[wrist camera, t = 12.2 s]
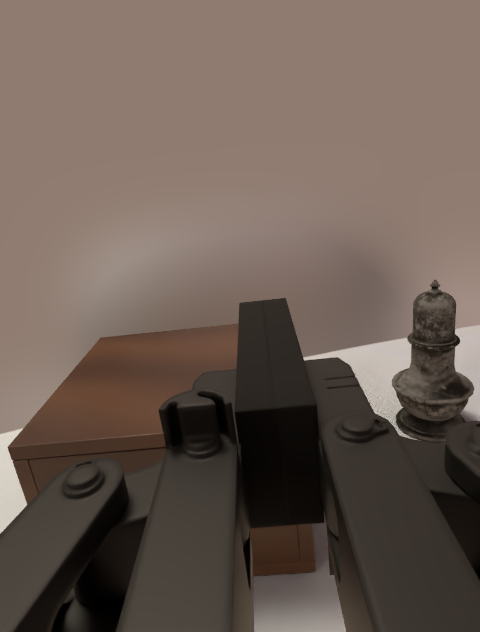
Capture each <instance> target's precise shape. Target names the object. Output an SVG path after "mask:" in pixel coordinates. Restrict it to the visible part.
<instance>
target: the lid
mask: <svg viewBox="0 0 480 632" xmlns="http://www.w3.org/2000/svg"><path fill="white" fill-rule="evenodd" d="M238 326H239V324H232V325H222V326H212V327H202V328H192V329H182V330H173V331H163V332H153V333H143V334H133V335H123V336H114V337H104V338H100V339H99V341H98V342H97V343H96V344H95V345H94V346H93V347H92V349H91V350H90V351H89V352H88V354H86V356H85V357H84V358H83V359H82V360H81V362H80V363H79V364H78V365H77V366H76V367H75V369H74V370H73V371H72V372H71V373H70V374H69V376H68V377H67V378H66V379H65V380H64V382H63V383H62V384H61V385H60V386H59V387H58V389H57V390H56V391H55V392H54V393H53V395H52V396H51V397H50V398H49V399H48V400H47V402H46V403H45V404H44V405H43V406H42V407H41V409H40V410H39V411H38V412H37V413H36V415H35V416H34V417H33V418H32V419H31V421H30V422H29V423H28V424H27V425H26V426H25V427H24V429H23V430H22V431H21V432H20V433H19V435H18V436H17V437H16V438H15V439H14V440H13V442H12V443H11V444H10V445H9V446H8V450H9V453H10V456H11V459H12V460H22V459H33V458H45V457H56V456H68V455H79V454H90V453H102V452H113V451H124V450H136V449H147V448H159V447H166V444H165V440H164V435H163V430H162V425H161V420H160V415H159V408H160V407H161V406H162V404H163V403H164V402H165V401H166V400H168V399H169V398H171V397H172V396H174V395H176V394H179V393H181V392H184V391H187V390H192V386H193V382H194V381H195V380H196V379H197V378H198V377H199V376H200V375H201V374H202V373H203V372H210V371H220V370H230V369H237V347H238Z"/></svg>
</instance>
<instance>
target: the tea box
mask: <svg viewBox="0 0 480 632" xmlns="http://www.w3.org/2000/svg"><path fill="white" fill-rule="evenodd" d="M165 452H166V447H159V448H147V449H136V450H124V451H113V452H102V453H90V454H79V455H68V456H56V457H45V458H33V459H22V460H14V461H13V464H14V467H15V470H16V473H17V476H18V478H19V481H20V484H21V487H22V490H23V493H24V496H25V499H26V502H27V505H28V504H29V503H30V502H31V501H32V500H33V499H34V497H35V496H36V495H37V494H38V493H39V492H40V491H41V490H42V489H43V488H44V487H45V486H46V485H47V483H48V482H49V481H50V480H51V479H52V478H53V477H55V476H56V475H57V474H58V473H59V472H61V471H62V470H63V469H65V468H67V467H69V466H71V465H73V464H75V463H77V462H79V461H82V460H86V459H90V458H102V457H105V458H109V459H113V460H116V461H117V462H118V463H119V464H120V465H121V466H122V469H123V473H124V474H125V473H128V472H131V471H134V470H138V469H141V468H144V467H147V466H149V465H152V464H155V463H156V462H158V461H160V460H162V459H164V455H165ZM249 521H250V520H249ZM250 537H251V544H252V554H253V576H262V575H276V574H290V573H304V572H315V571H316V567H315V552H314V539H313V525H312V524H300V525H288V526H275V527H263V528H250Z"/></svg>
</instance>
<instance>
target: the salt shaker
mask: <svg viewBox="0 0 480 632" xmlns="http://www.w3.org/2000/svg"><path fill="white" fill-rule="evenodd" d="M430 286H431V287H432V289H431V290H429V291H428V292H424V293H422V294H420V295H418V296H417V298H416V299H415V300H414V304H413V333H411V334H410V335H409V336H408V337H407V338H408V341H409V343H411V344H412V352H411V364H410V368H408V369H405V370H403V371H400V372H399V373H397V374H396V375H395V376H394V378H393V379H392V386H393V387H394V389H395V391H396V394H397V397H398V399H399V401H400V403H401V405H402V407H404V408H403V409H401V410H400V411H399V412H398V413H397V415H396V423H397V425H398V427H399V428H400V429H401V430H402V431H403V432H404V433H406V434H408V435H409V436H412V437H414V438H417V439H420V440H424V441H429V442H445V435H446V434H447V432H448V431H449V429H450V428H451V427H453V426H456V425H458V424H460V423H465V422H466V421H465V420H464V419H463V417H462V416H461V415H459V414H460V413H461V411H462V410H463V409H464V407H465V406H466V404H467V402H468V398H469V397H470V396H471V395H472V394H473V391H474V387H473V384H472V382H471V381H470V380H469V379H468V378H467V377H465V376H463V375H462V374H460V373H458V372H456V371H455V366H454V357H455V346H457V345H458V344H459V343H460V339H459V337H458V336H456V335H455V316H456V315H455V314H456V302H455V300H454V298H453V297H452V296H451V295H449V294H447V293H445V292H442V291H441V290H438V287H439V286H440V285H439V284H438V282H437V280H434V281H433V282H432V284H431V285H430Z"/></svg>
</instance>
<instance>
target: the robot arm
mask: <svg viewBox="0 0 480 632" xmlns="http://www.w3.org/2000/svg"><path fill="white" fill-rule="evenodd" d="M159 415H160V420H161V425H162V430H163V435H164V440H165V444H166V452H165V455H164V459H162V460H160V461H158V462H156V463H155V464H152V465H149V466H147V467H144V468H141V469H138V470H134V471H131V472H128V473H125V474H124V473H123V469H122V466H121V465H120V464H119V463H118V462H117V461H116V460H113V459H109V458H105V457H102V458H90V459H86V460H82V461H79V462H77V463H75V464H73V465H71V466H69V467H67V468H65V469H63V470H62V471H61V472H59V473H58V474H57V475H56V476H55V477H53V478H52V479H51V480H50V481H49V482H48V483H47V485H46V486H45V487H44V488H43V489H42V490H41V491H40V492H39V493H38V494H37V495H36V496H35V497H34V499H33V500H32V501H31V502H30V503H29V504H28V505H27V506H26V507H25V508H24V509H23V510H22V511H21V513H20V514H19V515H18V516H17V517H16V518H15V519H14V520H13V521H12V522H11V523H10V524H9V525H8V526H7V528H6V529H5V530H4V531H3V532H2V533H1V534H0V632H254V605H253V554H252V544H251V537H250V528H263V527H275V526H288V525H300V524H312V523H325V521H324V513H325V518H326V522H327V536H328V552H329V567H330V575H335V580H336V585H337V589H338V594H339V599H340V604H341V608H342V613H343V618H344V623H345V627H346V632H480V421H474V422H465V423H460V424H458V425H456V426H453V427H451V428H450V429H449V431H448V432H447V434H446V435H445V444H444V443H436V442H427V441H419V440H413V439H408V438H405V437H402V436H399V435H398V433H397V431H396V429H395V428H394V426H393V425H392V424H391V423H390V422H389V421H388V420H387V419H385V418H383V417H381V416H379V415H377V414H375V413H374V411H373V409H372V408H371V406H370V404H369V402H368V400H367V398H366V396H365V394H364V392H363V390H362V388H361V386H360V384H359V382H358V380H357V378H355V374H354V373H353V371H352V369H351V367H350V365H348V364H347V363H345V362H344V361H342V360H341V359H339V358H338V357H336V358H326V359H316V360H306V361H304V359H303V356H302V353H301V349H300V346H299V342H298V339H297V336H296V332H295V329H294V325H293V322H292V319H291V315H290V312H289V308H288V305H287V302H286V298H281V299H272V300H263V301H253V302H244V303H240V305H239V326H238V347H237V369H230V370H220V371H210V372H203V373H202V374H201V375H200V376H199V377H198V378H197V379H196V380H195V381H194V382H193V386H192V390H187V391H184V392H181V393H179V394H176V395H174V396H172V397H171V398H169V399H168V400H166V401H165V402H164V403H163V404H162V406H161V407H160V408H159ZM249 520H250V521H249Z"/></svg>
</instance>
